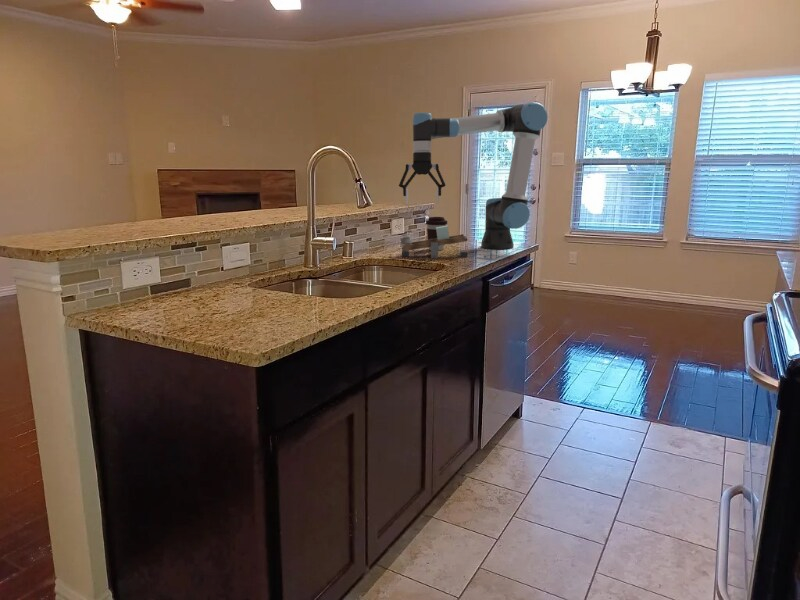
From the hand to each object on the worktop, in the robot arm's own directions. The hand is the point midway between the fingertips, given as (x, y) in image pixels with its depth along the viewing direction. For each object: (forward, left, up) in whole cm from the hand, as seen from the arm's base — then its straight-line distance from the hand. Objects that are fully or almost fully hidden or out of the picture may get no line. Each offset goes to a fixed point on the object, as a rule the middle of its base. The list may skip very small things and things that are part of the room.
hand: (422, 204), depth 239 cm
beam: (-5, 0, -17) cm, 18 cm away
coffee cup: (-6, -20, -23) cm, 31 cm away
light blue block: (-9, 0, -16) cm, 18 cm away
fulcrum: (-5, 0, -22) cm, 23 cm away
